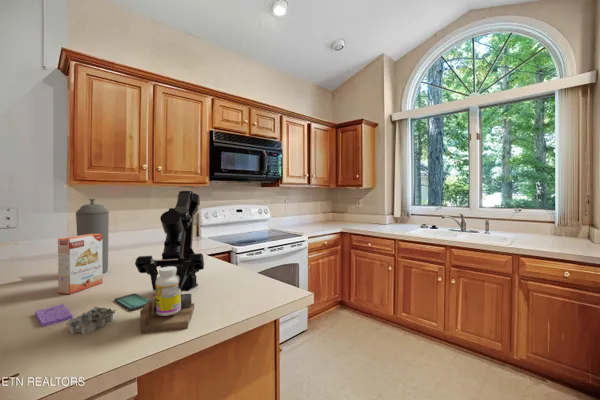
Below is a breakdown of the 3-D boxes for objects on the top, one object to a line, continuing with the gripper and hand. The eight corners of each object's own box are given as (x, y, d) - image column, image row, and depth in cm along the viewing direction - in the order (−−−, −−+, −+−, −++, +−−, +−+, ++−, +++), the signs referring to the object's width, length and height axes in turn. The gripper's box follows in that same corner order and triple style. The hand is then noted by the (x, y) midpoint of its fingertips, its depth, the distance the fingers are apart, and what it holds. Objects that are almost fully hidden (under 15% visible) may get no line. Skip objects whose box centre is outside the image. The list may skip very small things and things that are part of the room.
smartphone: (135, 292, 105) (154, 302, 95) (135, 295, 105) (154, 305, 95) (112, 298, 99) (130, 309, 90) (112, 302, 99) (130, 313, 90)
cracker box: (70, 295, 104) (69, 239, 104) (57, 293, 106) (56, 238, 105) (104, 283, 118) (103, 233, 117) (92, 282, 119) (91, 233, 119)
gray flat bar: (157, 308, 87) (157, 296, 87) (191, 305, 89) (191, 293, 89) (156, 310, 86) (156, 297, 86) (191, 307, 88) (190, 294, 88)
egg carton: (87, 336, 75) (87, 321, 75) (62, 334, 76) (62, 319, 76) (118, 318, 86) (118, 305, 85) (96, 317, 87) (96, 303, 86)
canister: (115, 271, 135) (113, 198, 134) (83, 278, 124) (82, 199, 123) (102, 267, 141) (101, 198, 140) (72, 274, 131) (70, 198, 130)
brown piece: (154, 313, 89) (153, 294, 89) (194, 309, 92) (193, 291, 91) (140, 333, 76) (140, 311, 76) (187, 328, 79) (187, 307, 79)
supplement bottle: (157, 308, 84) (156, 266, 84) (181, 305, 87) (180, 264, 86) (154, 318, 78) (153, 272, 78) (180, 314, 81) (179, 270, 80)
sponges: (63, 309, 93) (63, 303, 93) (73, 320, 85) (73, 314, 85) (34, 316, 88) (34, 310, 87) (42, 329, 80) (42, 322, 80)
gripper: (206, 255, 99) (203, 298, 89) (148, 258, 95) (138, 303, 85) (204, 237, 91) (200, 281, 81) (140, 239, 87) (128, 286, 77)
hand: (167, 289), depth 81 cm, fingers closed on supplement bottle, 7 cm apart
